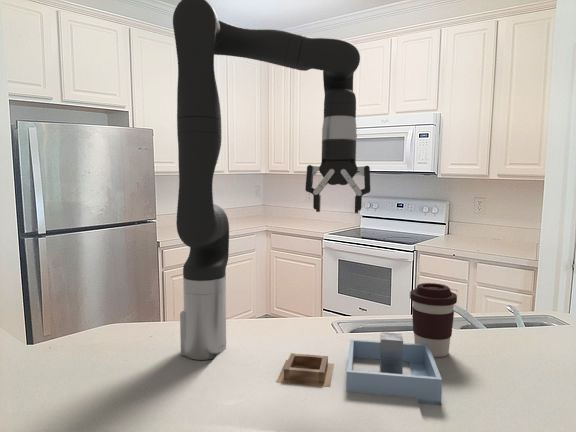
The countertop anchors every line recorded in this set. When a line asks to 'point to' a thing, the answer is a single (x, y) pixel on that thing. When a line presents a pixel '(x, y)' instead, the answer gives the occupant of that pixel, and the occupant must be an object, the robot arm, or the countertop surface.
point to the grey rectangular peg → (391, 353)
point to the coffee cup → (433, 316)
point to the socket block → (307, 370)
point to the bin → (418, 384)
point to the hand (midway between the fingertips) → (337, 212)
